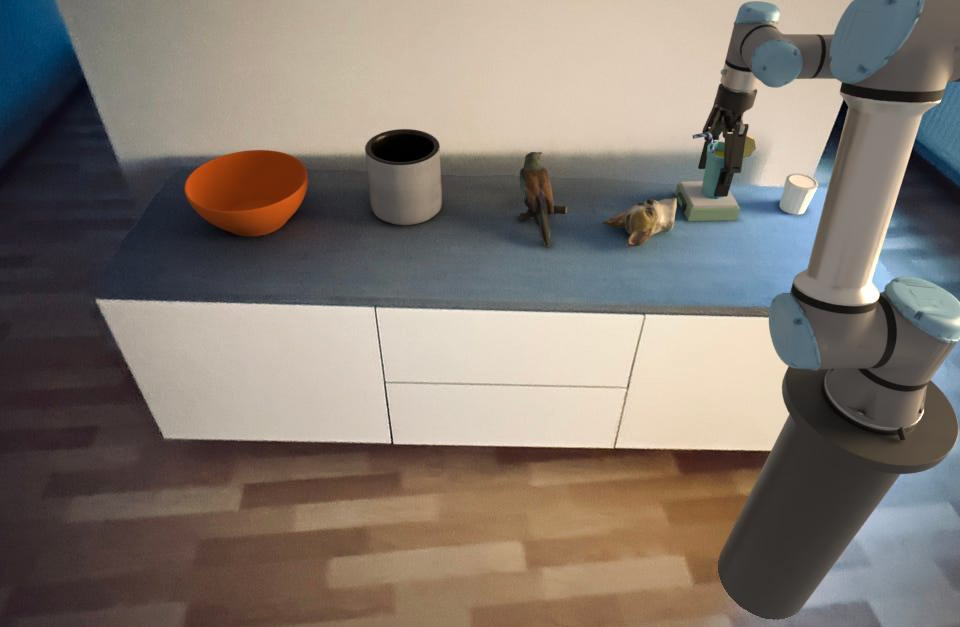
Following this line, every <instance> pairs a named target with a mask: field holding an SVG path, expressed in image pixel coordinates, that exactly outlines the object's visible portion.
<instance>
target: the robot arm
mask: <svg viewBox="0 0 960 627" xmlns="http://www.w3.org/2000/svg"><path fill="white" fill-rule="evenodd" d="M780 15H781V9H780V7H779V6H778V5H776V4H774V3H771V2H767V1H759V0H754V1H746V2H744V3H743V4H741V5H740V6H739V8H738V11H737V13H736V17H735V20H734V22H733V28H732V32H731V35H730V38H729V44H728V48H727V51H726V56H725V59H724V60H725V61H724V64H723V68H722V69H721V70H720V75H721V76H720V80H719V81H720V83H719V84H718V87H717V91H716V95H715V98H714V101H713V105H712V108H711V110H710V113H709V114H708V117H707V119H706V122H705V123H704V125H703V128H702V130H701V133H705V132H709V133H711V135H712V137H713V143H715V142H718V141H720V136H721V134H722V138H724V142H725V145H724V168H721V169H720V175H719V178H718V182H717V185H716V189H715V192H714V196H715V197H727V196H728V192H729V190H730V188H731V185H732V182H733V178H734V175H735V174H741V172H742V169H743V161H744V158H743V154H744V147H745V140H746V135H748V131H749V128H750V125H749V124H748V123H744V114H745V112H747V111H749V110H751V109H752V108H753V107H754V104H755V100H756V97H757V95H758V88H759V87H760V85H761V83H762V84H763V85H764V86H767V88H768V87H769V88H775V89H776V88H782V87H784V86H786V85H789V84H791V83H792V82H793V81H794V80H813V79H815V80H818V79H819V80H821V79H823V80H837V81H839V82H840V83H841V85H840V88H839V95H840V96H841V97H842V99H843V100H844V102H845V103H846V105H847V107H848V108H847V111H846V115H845V118H844V119H845V120H844V123H843V127H842V131H841V134H840V140H839V143H838V147H837V151H836V155H835V158H834V163H833V167H832V169H831V173H830V179H829V182H828V185H827V186H828V187H827V190H826V194H825V198H824V202H823V205H822V210H821V214H820V217H819V220H818V221H819V222H818V225H817V229H816V233H815V236H814V237H815V238H814V241H813V245H812V249H811V253H810V256H809V261H808V265H807V268H806V269H804V270H802V271H800V272H798V273H797V274H795V275H794V277H793V281H792V284H791V288H790V292H781V293H779V294H776V295H775V296H774V298H772V300H771V302H770V305H769V311H768V330H769V335H770V338H771V343H772V346H773V348H774V350H775V353H776V354H777V356H778V357H779V359H780V360H781V362H783V363H784V364H785V365H786V366H787V367H788V366H789V367H792V368H796V369H811V370H818V369H829V370H828V371H827V373H826V375H825V377H824V379H823V382H822V392H823V395H824V398H825V400H826V401H827V403H828V404H829V406H830V407H831V408H832V409H833V410H834V411H835V412H836V413H837V414H838V415H839V416H840V417H841V418H843V419H844V420H846V421H847V422H849V423H851V424H852V425H854V426H856V427H858V428H861V429H863V430H866V431H869V432H872V433H877V434H883V435H897V434H899V438H900V440H907V438H906V435H905V432H907V431H909V430H911V429H912V428H913V427H914V426H915V425H916V424H917V422H918V421H919V420H920V418H921V417H922V414H923V411H924V402H925V396H926V388H927V384H928V383H929V381H930V380H931V381H932V379H933V377H935V375H936V373H937V371H938V370H939V369H940V368H941V366H942V364H943V363H944V362H945V360H946V359H947V357H948V356H949V354H950V353H951V352H952V350H953V349H954V347H955V346H956V345H957V343H959V342H960V301H959V300H958V299H957V297H955V296H954V295H953V294H952V293H951V292H949V291H947V290H946V289H945V288H943V287H941V286H939V285H938V284H936V283H933V282H931V281H928V280H925V279H922V278H918V277H915V276H914V277H913V276H898V277H895V278H892V279H891V280H890V281H889V283H886V284H885V286H884V288H883V289H884V290H883V291H882V292H880V291H879V289H878V288H877V287H876V285H875V284H874V283H873V282H872V281H873V278H874V275H875V272H876V268H877V264H878V261H879V258H880V255H881V251H882V248H883V245H884V243H885V242H884V241H885V238H886V236H887V232H888V229H889V225H890V222H891V219H892V216H893V213H894V209H895V205H896V203H897V199H898V196H899V193H900V189H901V186H902V183H903V179H904V177H905V173H906V170H907V166H908V164H909V160H910V157H911V153H912V150H913V147H914V144H915V140H916V138H917V134H918V131H919V127H920V125H921V121H922V118H923V115H924V114H925V113H926V112H927V111H929V110H931V109H932V108H933V107H935V106H937V105H938V104H940V103H941V101H942V99H943V96H944V93H945V90H946V86H947V84H948V83H960V0H852V1H851V2H850V3H849V4H848V6H847V7H846V8H845V10H844V11H843V13H842V14H841V16H840V19H839V21H837V25H836V28H835V30H834V32H833V33H831V34H818V33H817V34H816V33H810V34H809V33H808V34H807V33H806V34H804V33H796V34H795V33H791V34H789V33H782V32H781V31H780V30H779V29H778V28H777V27H778V25H779V24H780ZM703 138H704V143H703V147H702V151H701V155H700V157H699V158H700V159H699V162H698V166H697V168H698V170H705V166H706V160H707V147H708V145H709V137H708V136H706V137H703Z"/></svg>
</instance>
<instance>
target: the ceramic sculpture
mask: <svg viewBox="0 0 960 627" xmlns="http://www.w3.org/2000/svg"><path fill="white" fill-rule="evenodd" d="M677 204H678V202H677V197H673V198H663V199H660V200H658V201H657V200H655V199H652V198H649V199H646V200H645V201H644V202H638V203H636V204H634V205H631V206H630V207H629V208H628V209H627V210H623V211H621V212H618V213H616V214H615V215H614V216H612V217H611V218H609V219H607V220H603V221H602V224H603V225H604V226H608V227H611V228H613V229H614V228H615V229H620V228H625V230H626V232H627V233H628V234H629V236H628V238H627V242H626V244H625V246H626V247H639V246H642V245H644V244H645V243H646V242H648V240H649V239H650V238H651V237H652V236H653V235H655V234H657V233H659V232H663V233H669V232H670V231H672V229H673V228H674V226H675V218H676V212H677Z"/></svg>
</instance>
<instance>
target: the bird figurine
mask: <svg viewBox="0 0 960 627" xmlns="http://www.w3.org/2000/svg"><path fill="white" fill-rule="evenodd" d="M542 154H543V152H541V151H538V152H537V151H530V152H529V153H527V154H526V155H525V157H524V162H523V167H522V168H521V169H520V171H519V187H520V190H521V195H522V197H523V202H524V205H525V207H526V208H527V210H526V211H525V212H520V213H519V219H520V220H527V219H531V218H533V220H534V221H535V223H536V224H537V226H538V229H539V236H540V238H541V240H542V243H543V245H544V246H545V247H548V248H549V247H550V246H551V228H550V218H551V216H550V215H556V214H557V215H558V214H559V215H567V210H568V206H567V205H554V197H553V189H552V184H551V180H550V175H549V172H548V170H547V169H546V167H545V166H542V164H541V163H540V160H541V159H540V158H541V157H540V156H541V155H542Z"/></svg>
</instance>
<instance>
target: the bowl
mask: <svg viewBox="0 0 960 627" xmlns="http://www.w3.org/2000/svg"><path fill="white" fill-rule="evenodd" d="M308 186H309V173H308V169H307V167H306V165H305V164H304V163H303V162H302V161H301V160H300V159H298V158H297V157H295V156H293V155H291V154H289V153H285V152H283V151H282V152H281V151H277V150H269V149H252V150H250V149H249V150H242V151H236V152H231V153H227V154H223V155H220V156H217V157H214V158H213V159H211V160H209V161H207V162H204V163H202V164H201V165H199V166H198V167H196V168H195V169H194V170H193V171H192V172H191V173H190V174H189V176H188V177H187V179H186V180H185V184H184V195H185V197H186V199H187V201H188V203H189V204H190V206H191V207H192V209H193V210H194V211H195V212H196V213H197V214H198V216H201V218H203V220H206V221H207V222H208V223H210V224H211V225H213V226H214V227H215V226H216V227H217V228H219V229H221V230H224V231H226V232H230V233H231V234H233V235H235V236H236V235H237V236H240V237H258V236H259V237H260V236H264V235H268V234H271V233H273V232H276V231H278V230H279V229H281V228H282V227H283V226H284V225H285V224H286V223H287V222H288V220H290V219H291V217H292V216H293V215H294V214H295V213H296V212H297V210H298V209H299V208H300V206H301V204H302V203H303V200H304V199H305V196H306V193H307V190H308Z"/></svg>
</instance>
